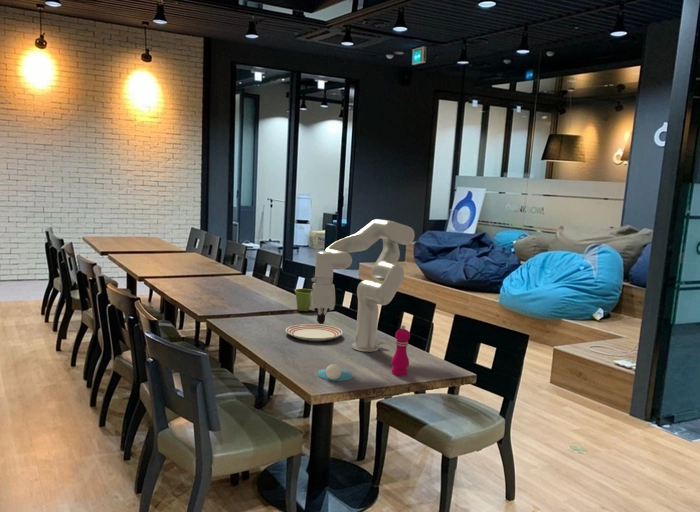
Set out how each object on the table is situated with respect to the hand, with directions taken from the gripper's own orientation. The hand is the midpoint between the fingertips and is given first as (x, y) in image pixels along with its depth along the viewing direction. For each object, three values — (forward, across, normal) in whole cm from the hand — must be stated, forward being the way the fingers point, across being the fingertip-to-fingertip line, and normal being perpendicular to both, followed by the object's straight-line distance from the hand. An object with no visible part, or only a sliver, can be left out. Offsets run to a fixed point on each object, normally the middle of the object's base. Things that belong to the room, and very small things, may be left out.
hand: (320, 323), depth 256 cm
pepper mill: (+15, +27, -24) cm, 39 cm away
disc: (+15, 0, -22) cm, 27 cm away
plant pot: (+15, +18, +86) cm, 89 cm away
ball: (+12, -2, -27) cm, 30 cm away
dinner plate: (+16, +8, +33) cm, 37 cm away
